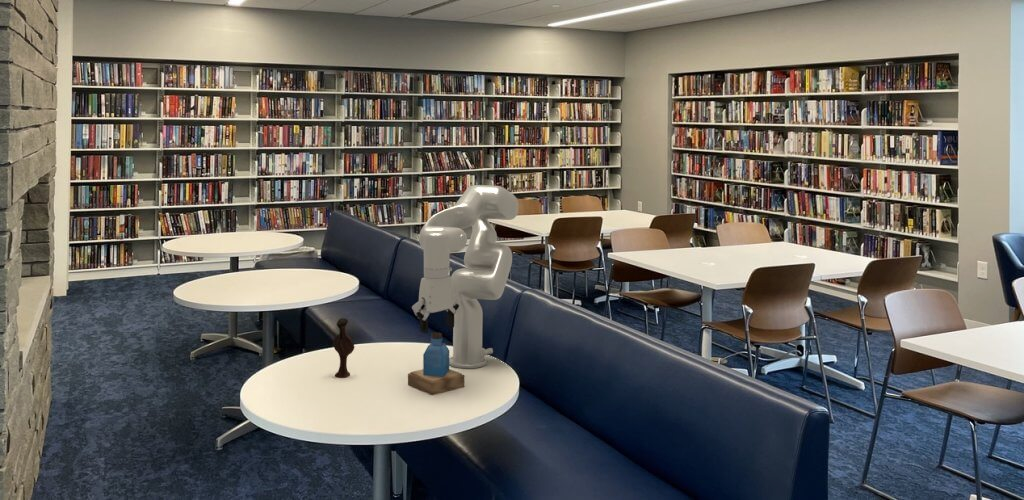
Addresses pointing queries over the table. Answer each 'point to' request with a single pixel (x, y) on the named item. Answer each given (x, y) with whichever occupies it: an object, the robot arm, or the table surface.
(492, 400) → the table surface
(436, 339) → the perfume bottle
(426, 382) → the pedestal
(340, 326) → the figurine
